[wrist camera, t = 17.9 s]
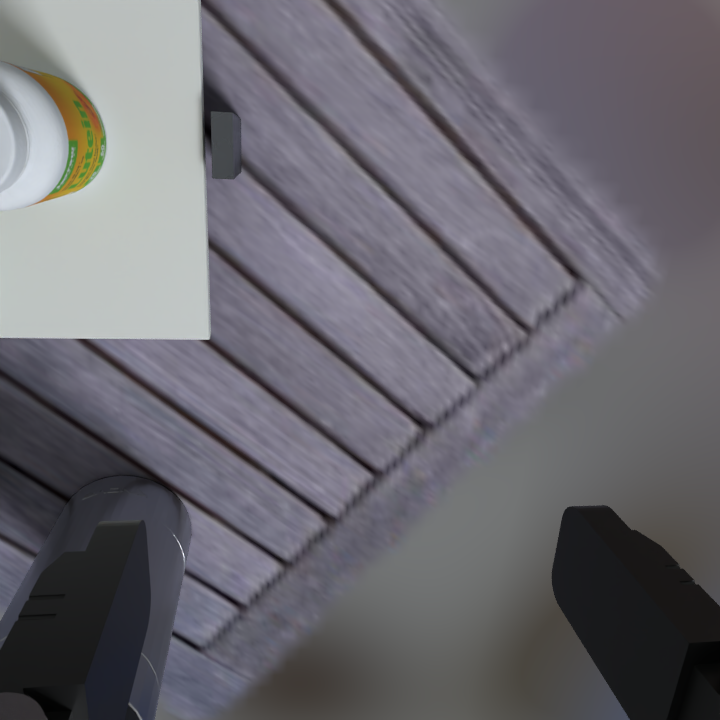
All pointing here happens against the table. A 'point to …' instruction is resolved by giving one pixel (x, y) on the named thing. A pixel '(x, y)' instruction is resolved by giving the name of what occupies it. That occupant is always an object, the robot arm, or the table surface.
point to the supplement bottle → (46, 137)
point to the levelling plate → (115, 177)
